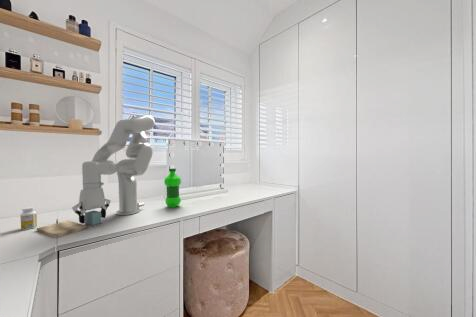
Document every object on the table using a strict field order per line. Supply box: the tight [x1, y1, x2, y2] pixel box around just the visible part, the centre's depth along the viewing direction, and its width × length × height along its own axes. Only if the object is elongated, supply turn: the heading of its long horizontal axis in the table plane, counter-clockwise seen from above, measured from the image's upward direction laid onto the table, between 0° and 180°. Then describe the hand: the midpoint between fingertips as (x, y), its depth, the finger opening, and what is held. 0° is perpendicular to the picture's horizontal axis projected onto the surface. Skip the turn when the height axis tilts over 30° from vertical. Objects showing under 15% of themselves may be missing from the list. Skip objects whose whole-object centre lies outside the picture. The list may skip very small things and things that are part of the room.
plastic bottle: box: [163, 167, 182, 208], centre depth 137 cm, size 10×10×25 cm
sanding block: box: [84, 209, 102, 227], centre depth 105 cm, size 7×4×6 cm, turn 62°
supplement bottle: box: [20, 206, 38, 231], centre depth 100 cm, size 5×5×10 cm
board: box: [36, 220, 88, 238], centre depth 97 cm, size 12×18×1 cm, turn 62°
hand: (93, 220), depth 105 cm, fingers open, 9 cm apart
